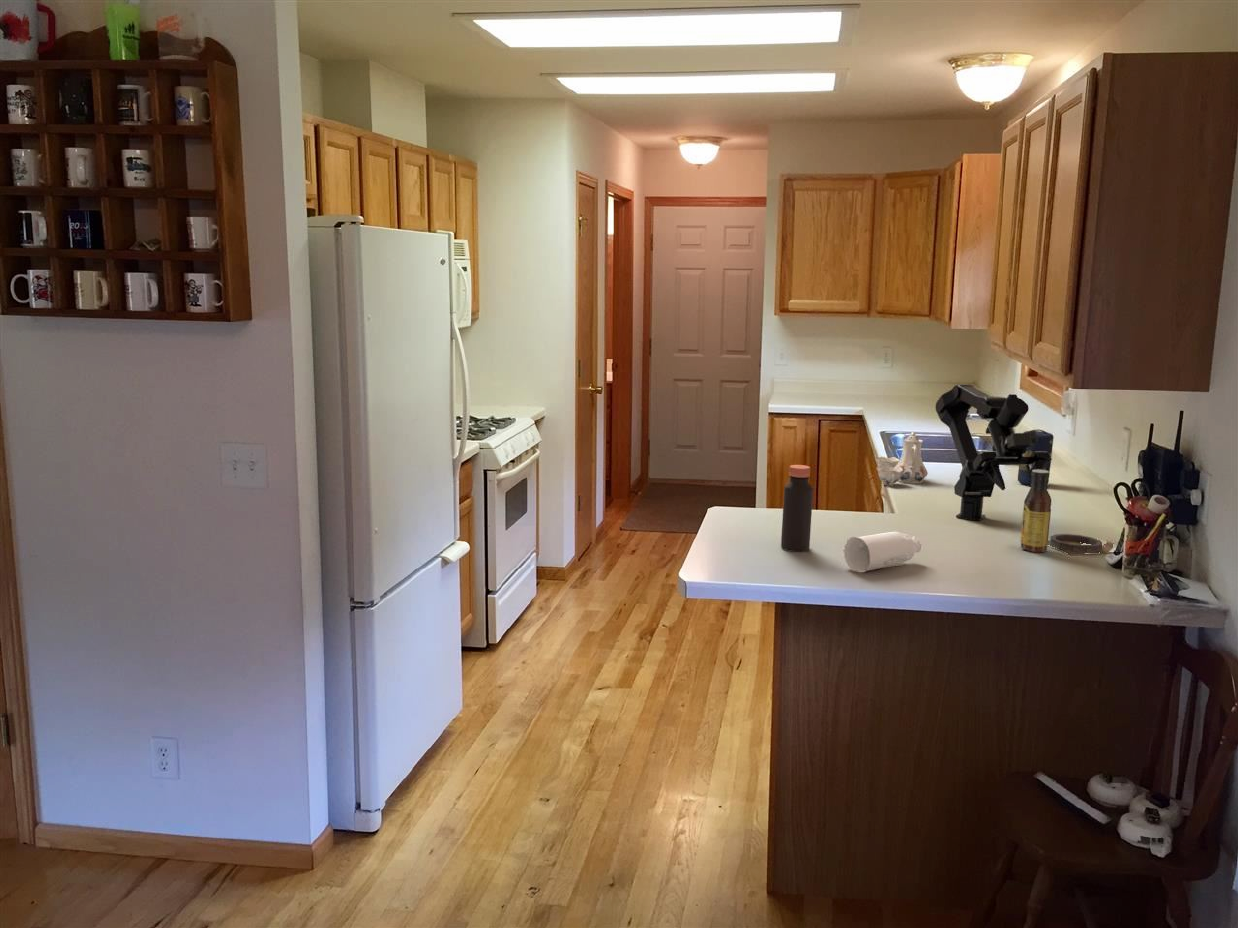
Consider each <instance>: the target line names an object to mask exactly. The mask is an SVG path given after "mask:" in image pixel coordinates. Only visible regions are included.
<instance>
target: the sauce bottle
mask: <svg viewBox="0 0 1238 928" xmlns="http://www.w3.org/2000/svg"><path fill="white" fill-rule="evenodd" d="M1050 473H1051V472H1049V471H1047V470H1040V469H1037V470H1032V474H1031V476H1032V483H1031V485H1030V489H1029V491H1028V493H1027V494H1026V497H1025V499H1024V500H1023V511H1022V523H1021V534H1020V546H1021V549H1022V548H1023V549H1026V550H1025V551H1027V550H1028V551H1027V552H1031V551H1033V553H1043V551H1044V552H1047V549H1048V546H1047V544H1048V541H1049V538H1050V524H1051V514H1052V498H1051V495H1050V493H1049V491H1048V488H1049V487H1048V484H1049V482H1048V478H1049V479H1050ZM1023 549H1022V550H1023Z"/></svg>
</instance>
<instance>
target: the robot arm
mask: <svg viewBox="0 0 1238 928" xmlns="http://www.w3.org/2000/svg"><path fill="white" fill-rule="evenodd" d="M972 407H973V408H974V409H976V414H977V415H978V416H979V418H981V419H982V420H990V422H989V423H988V424H987V428H985V434H986V435H988V434H990V437H991V440H992V443H993V446H992V447H991V449H992V450H981V451H979V453H978V451H977V448H976V445H975V442H974V439H973V436H972V434H971V431H970V428H969V424H968V423H967V418H968V415H969V413H970V411H969V410H970V409H971V408H972ZM935 412H936V414H937V416H938V418H939V420H940V421H941V423H943V424H944V425H946V426H947V427H948V428H949V431H950V434H951V438H952V440H953V444H954V445H955V449H956V452H957V454H958V457H959V461H960V464H961V471H960V474H959V479H958V480H957V482H956V483H955V485H954V487H953V488H954V489H953V491H954V495H956V496H958V497H961V500H960V509H959V510H960V511H959V512H960V513H958V514H956V515H955V518H957V519H958V518H959V519H965V520H971V521H977V522H978V521H981V520H983V519H984V518H986V516H987V515H986V514H983V508H984V507H983V506H984V498H991V497H992V495H993V491H994V487H995V485H996V486H997V487H998V488H999V489H1000V490H1001V491H1005V490H1006V484H1005V481H1004V478H1003V475H1002V472H1001V469H1000V465H1006V466H1019V465H1026V467H1027V469H1028V470H1029V471H1028V475H1029V477H1030V479H1031V481H1032V476H1031V474H1032V470H1037V469H1040V470H1044V469H1045V467H1046V466H1047V465H1048V464H1049V462H1050V461H1051V462H1052V460H1053V458H1052V456H1051V455H1050V453H1049V452H1047V451H1034V452H1033V453H1032V454H1031V456H1030V457H1023V456H1022V454H1023V453H1025V452H1026V451H1027V450H1026V448H1027V447H1029V446H1030V447H1031V446H1032V445H1034V444H1036V443H1037V442H1038V438H1037V435H1036V433H1035V431H1030V430H1028V431H1029V432H1028V433H1024V432H1015V430H1014V428H1016V427H1018V426H1019V425H1020V423H1021V422H1022V420H1023V419H1024V418H1025V416H1026V415H1027V413H1028V412H1029V405H1028V403H1027V402H1025V401H1024V400H1023V399H1022V398H1020V397H1018V395H1017V394H1014V393H1013V394H1008V395H1007V397H1003V396H992V395H989V394H987V393H985V392H984V391H982V390H980V389H978V388H976V387H975V386H973V385H971V384H956V385H954V386H953V387H952V389H950V390H948V391H946V392H945V393H942V394H941V396H939V398H938V400H937V401H936V402H935Z"/></svg>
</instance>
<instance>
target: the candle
mask: <svg viewBox="0 0 1238 928" xmlns="http://www.w3.org/2000/svg"><path fill="white" fill-rule="evenodd" d="M1029 431H1035V433H1036V435H1037V438H1038V442H1037V443H1036V444H1034V445H1032V446H1031V447H1030V446H1029V447H1027V448H1026V450H1027V451H1026V452H1025V453H1023V454H1022V456H1023V457H1030V456H1031V454H1032V453H1033V452H1034V451H1047V452H1049V453H1050V455H1051V457H1052V456H1053V455H1052V454H1053V446H1054V445H1053V444H1054V435H1053V433H1051V432H1047V431H1044V430H1043V429H1039V428H1038V429H1032V430H1026V431H1023V433H1028V432H1029ZM1051 464H1052V460H1051V461H1050V462H1049V464H1048V465H1047V466H1046V467H1045V469H1044V470H1047V471H1049V472H1050V471H1051V466H1052V465H1051ZM1028 471H1029V470H1028V469H1027V467H1026V465H1018V471H1017V481H1018V482H1019V484H1023V485H1027V486H1031V483H1032V481H1031V479H1030V477H1029V475H1028ZM1050 473H1051V472H1050ZM1049 481H1050V477H1049V478H1048V483H1049Z"/></svg>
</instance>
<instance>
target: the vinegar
mask: <svg viewBox="0 0 1238 928" xmlns="http://www.w3.org/2000/svg"><path fill="white" fill-rule="evenodd" d="M788 467H789V468H788V469H789V470H788V475H789V481H788V482H787V483H786V484H785V485H784V488H783V502H782V503H783V504H782V520H781V521H782V523H781V537H780V539H781V540H780V541H781V542H780V547H781V548H782V549H783V550H785V549H786V551H789V550H790V552H806V551H808V550H809V549H810V546H811V528H812V512H813V494H814V488H813V486H812V485H811V484H810V482H809V479H810V475H811V467H810V466H808V465H803V464H792V465H790V466H788Z"/></svg>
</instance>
